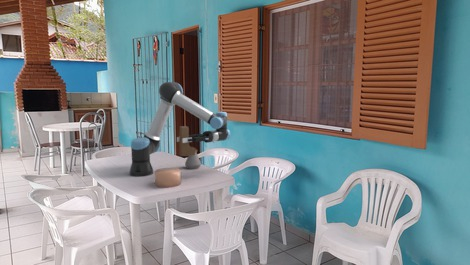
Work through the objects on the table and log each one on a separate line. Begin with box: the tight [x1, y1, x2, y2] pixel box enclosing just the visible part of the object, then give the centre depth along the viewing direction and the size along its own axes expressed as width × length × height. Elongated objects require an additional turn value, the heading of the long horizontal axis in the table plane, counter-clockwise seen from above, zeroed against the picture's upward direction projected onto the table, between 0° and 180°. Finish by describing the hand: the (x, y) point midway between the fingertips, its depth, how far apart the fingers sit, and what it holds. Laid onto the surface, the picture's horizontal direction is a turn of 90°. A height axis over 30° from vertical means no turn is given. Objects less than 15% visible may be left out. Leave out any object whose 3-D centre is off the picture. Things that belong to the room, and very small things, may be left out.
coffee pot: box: [184, 149, 202, 170], centre depth 246 cm, size 21×12×15 cm, turn 30°
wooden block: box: [179, 125, 196, 157], centre depth 210 cm, size 9×4×18 cm, turn 120°
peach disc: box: [154, 167, 182, 188], centre depth 203 cm, size 15×15×8 cm
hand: (180, 140), depth 207 cm, fingers closed on wooden block, 5 cm apart
